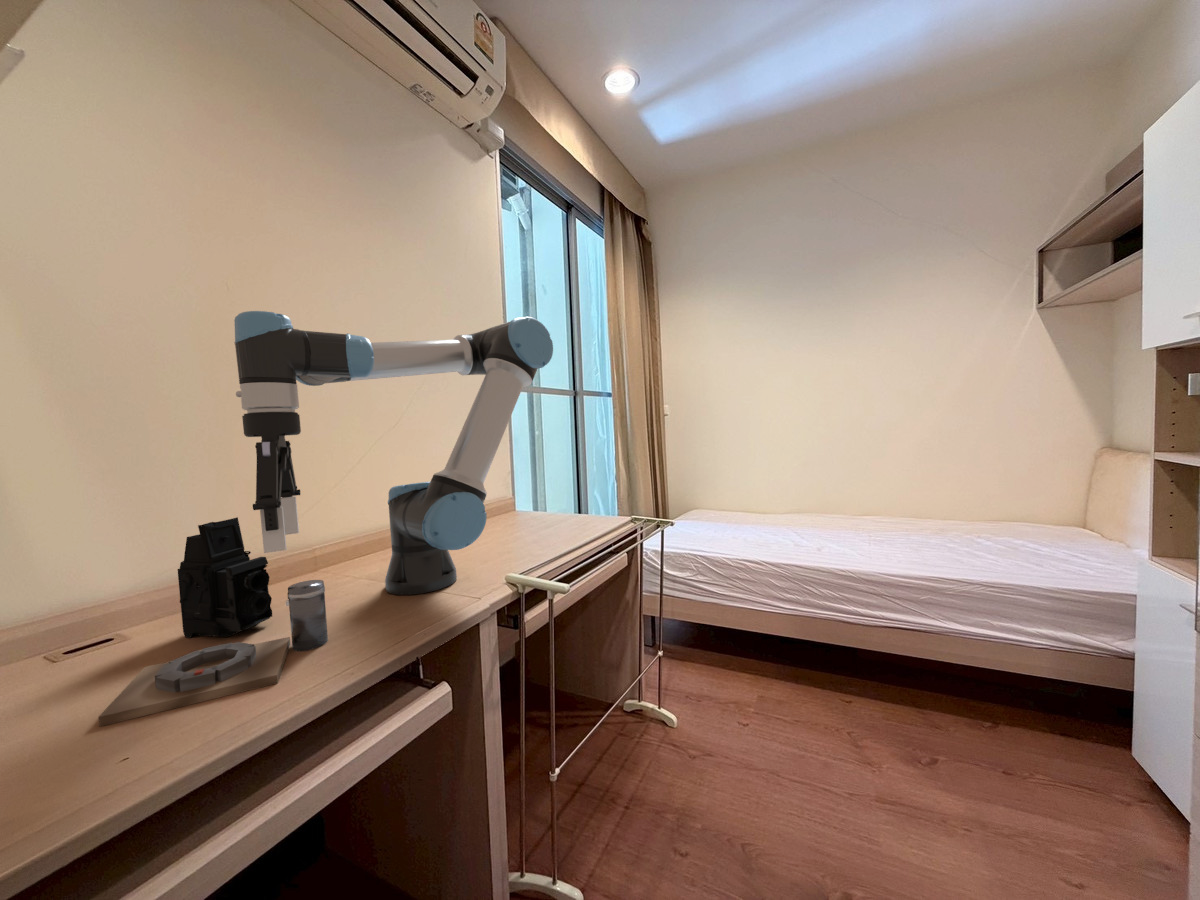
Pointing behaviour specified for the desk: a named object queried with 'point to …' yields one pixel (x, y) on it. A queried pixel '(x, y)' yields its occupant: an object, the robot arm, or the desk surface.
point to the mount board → (166, 701)
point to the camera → (221, 583)
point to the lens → (307, 615)
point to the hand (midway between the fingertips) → (283, 542)
